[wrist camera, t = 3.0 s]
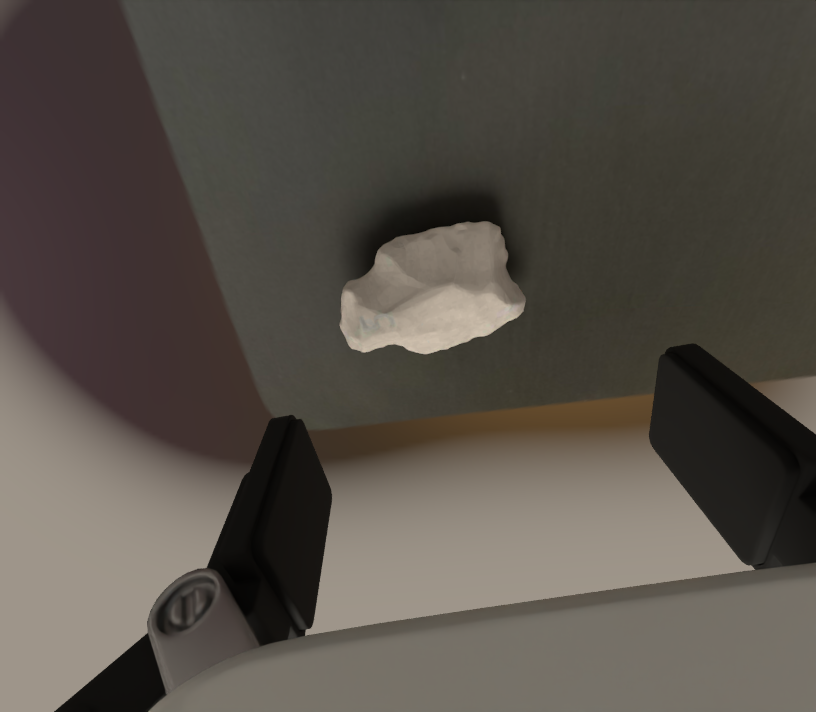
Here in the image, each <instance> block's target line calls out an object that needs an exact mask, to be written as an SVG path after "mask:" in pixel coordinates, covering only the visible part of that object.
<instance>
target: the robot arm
mask: <svg viewBox="0 0 816 712" xmlns="http://www.w3.org/2000/svg"><path fill="white" fill-rule="evenodd" d="M649 439H650V443H651V445H652V447H653V448H654V450H655V451H656V452H657V454H658V455H659V456H660V457H661V459H662V460H663V462H664V463H665V464H666V465H667V466H668V468H669V469H670V470H671V472H672V473H673V474H674V476H675V477H676V478H677V479H678V481H679V482H680V483H681V485H682V486H683V487H684V488H685V490H686V491H687V492H688V494H689V495H690V496H691V497H692V499H693V500H694V501H695V503H696V504H697V505H698V506H699V508H700V509H701V510H702V511H703V513H704V514H705V515H706V516H707V518H708V519H709V520H710V522H711V523H712V524H713V526H714V527H715V528H716V529H717V531H718V532H719V533H720V535H721V536H722V537H723V538H724V540H725V541H726V542H727V543H728V545H729V546H730V547H731V549H732V550H733V551H734V552H735V554H736V555H737V556H738V558H739V559H740V560H741V561H742V562H743V563H745V564H746V565H752V566H753V567H754V569H755V570H752V571H743V572H736V573H729V574H722V575H714V576H707V577H701V578H692V579H685V580H678V581H671V582H663V583H656V584H649V585H641V586H634V587H627V588H620V589H613V590H606V591H599V592H592V593H585V594H578V595H571V596H564V597H557V598H550V599H543V600H536V601H529V602H522V603H515V604H508V605H501V606H495V607H487V608H480V609H473V610H467V611H460V612H453V613H447V614H440V615H433V616H426V617H420V618H413V619H406V620H400V621H393V622H386V623H379V624H373V625H367V626H361V627H355V628H349V629H343V630H338V631H331V632H325V633H319V634H313V635H307V636H305V630H306V629H310V628H311V627H312V625H313V621H314V615H315V608H316V602H317V595H318V589H319V582H320V576H321V569H322V562H323V556H324V549H325V542H326V536H327V528H328V522H329V516H330V509H331V503H332V494H331V488H330V486H329V483H328V481H327V478H326V476H325V474H324V471H323V468H322V466H321V464H320V461H319V459H318V456H317V454H316V451H315V449H314V447H313V444H312V442H311V439H310V437H309V435H308V432H307V430H306V427H305V425H304V422H303V421H302V420H301V419H297V420H296V418H295V417H294V416H293V415H289V416H283V417H278V418H272V419H271V420H270V421H269V423H268V426H267V429H266V431H265V434H264V436H263V439H262V441H261V444H260V446H259V449H258V452H257V454H256V457H255V459H254V462H253V464H252V467H251V469H250V472H249V473H247V474H246V475H245V476H244V478H243V479H242V481H241V484H240V487H239V489H238V491H237V494H236V496H235V499H234V501H233V504H232V506H231V509H230V512H229V514H228V516H227V519H226V521H225V524H224V526H223V529H222V531H221V534H220V536H219V539H218V541H217V544H216V546H215V548H214V551H213V554H212V556H211V558H210V561H209V563H208V566H207V568H205V569H197V570H194V571H191V572H188V573H186V574H184V575H183V576H181V577H179V578H178V579H176V580H175V581H174V582H173V583H172V584H170V585H169V586H168V587H167V588H166V589H165V590H164V592H162V594H161V595H160V596H159V597H158V599H157V600H156V602H155V604H154V605H153V607H152V609H151V611H150V614H149V618H148V621H147V627H148V633H147V634H146V635H145V636H144V637H142V638H141V639H140V640H139V641H138V642H136V643H135V644H134V645H133V646H132V647H131V648H129V649H128V650H127V651H126V652H125V653H123V654H122V655H121V656H120V657H119V658H118V659H116V660H115V661H114V662H113V663H112V664H110V665H109V666H108V667H107V668H106V669H104V670H103V671H102V672H101V673H100V674H98V675H97V676H96V677H95V678H94V679H93V680H91V681H90V682H89V683H88V684H87V685H85V686H84V687H83V688H82V689H81V690H79V691H78V692H77V693H76V694H75V695H74V696H72V698H70V699H69V700H68V701H66V702H65V703H64V704H63V705H62V706H61V707H59V708H58V709H57V710H56V711H54V712H816V434H814V433H813V432H812V431H810V430H809V429H808V428H807V427H805V426H804V425H803V424H801V423H800V422H799V421H797V420H796V419H795V418H793V417H792V416H791V415H789V414H788V413H787V412H785V411H784V410H783V409H781V408H780V407H779V406H778V405H776V404H775V403H774V402H772V401H771V400H770V399H768V398H767V397H766V396H764V395H763V394H762V393H760V392H759V391H758V390H756V389H755V388H754V387H752V386H751V385H750V384H749V383H747V382H746V381H745V380H743V379H742V378H741V377H739V376H738V375H737V374H735V373H734V372H733V371H731V370H730V369H729V368H727V367H726V366H725V365H724V364H722V363H721V362H720V361H718V360H717V359H716V358H714V357H713V356H712V355H710V354H709V353H708V352H706V351H705V350H704V349H702V348H701V347H700V346H698V345H697V344H687V345H681V346H675V347H670V348H668V349H667V350H666V352H665V354H663V355H661V356H660V358H659V363H658V371H657V378H656V386H655V394H654V401H653V409H652V416H651V424H650V431H649Z"/></svg>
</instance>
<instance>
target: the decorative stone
mask: <svg viewBox="0 0 816 712" xmlns="http://www.w3.org/2000/svg"><path fill="white" fill-rule="evenodd" d="M507 259H508V251H507V250H506V248H505V239H504V237H503V236H502V235H501V229H500V227H499V226H497V225H494V224H492V223H491V222H488V221H482V222H477V223H472V222H468V221H467V222H465V223H457V224H455V225H452V226H446V227H437V228H432V229H429V230H427V231H425V232H421V233H417V234H413V235H404V236H400V237H396V238H395V239H393V240H392V241H390V242H388V243H386V244H383V246H382V247H381V248H380V249H378V252H377V254H376V257H375V264H374V266H373V267H372V269H371V270H370V271H369V272H368V273H367V274H366V275H364V276H363V277H361V278H359V279H356V280H350V281H348V282H347V284H346V285H345V286H344V288H343V292H342V295H341V303H342V304H341V313H342V315H341V316H342V319H341V321H340V324H339V325H340V328H341V330H342V332H343V334H344V336H345V337H346V341H347V343H348V345H349V346H350V347H351V349H356V350H359V351H361V352H369V351H372V350H373V349H376V348H380V347H384V346H386V345H389V344H390V345H392V344H397V345H400V346H404V347H405V348H406V349H407V350H410V351H414V352H417V353H421V354H429V353H433V352H436V351H438V350H443V349H449V348H450V347H453V346H456V345H458V344H460V343H464V342H468V341H469V340H470V339H472V338H474V337H479V336H487V335H489V334H490V333H492V332H494V331H495V330H496V329H498V328H499V327H501V326H502V325H504V324H505V323H506V322H508V321H511V320H513V319H515V318H517V317H518V316H519V315H520V314H521V313H522V312H523V310H524V306H525V302H526V298H525V296H524V295H523V293H522V292H521V290H520V289H519V287H518V284H516V283H514V282H513V281H512V280H511V278H510V276H509V274H508V271H507V269H506V262H507Z"/></svg>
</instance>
